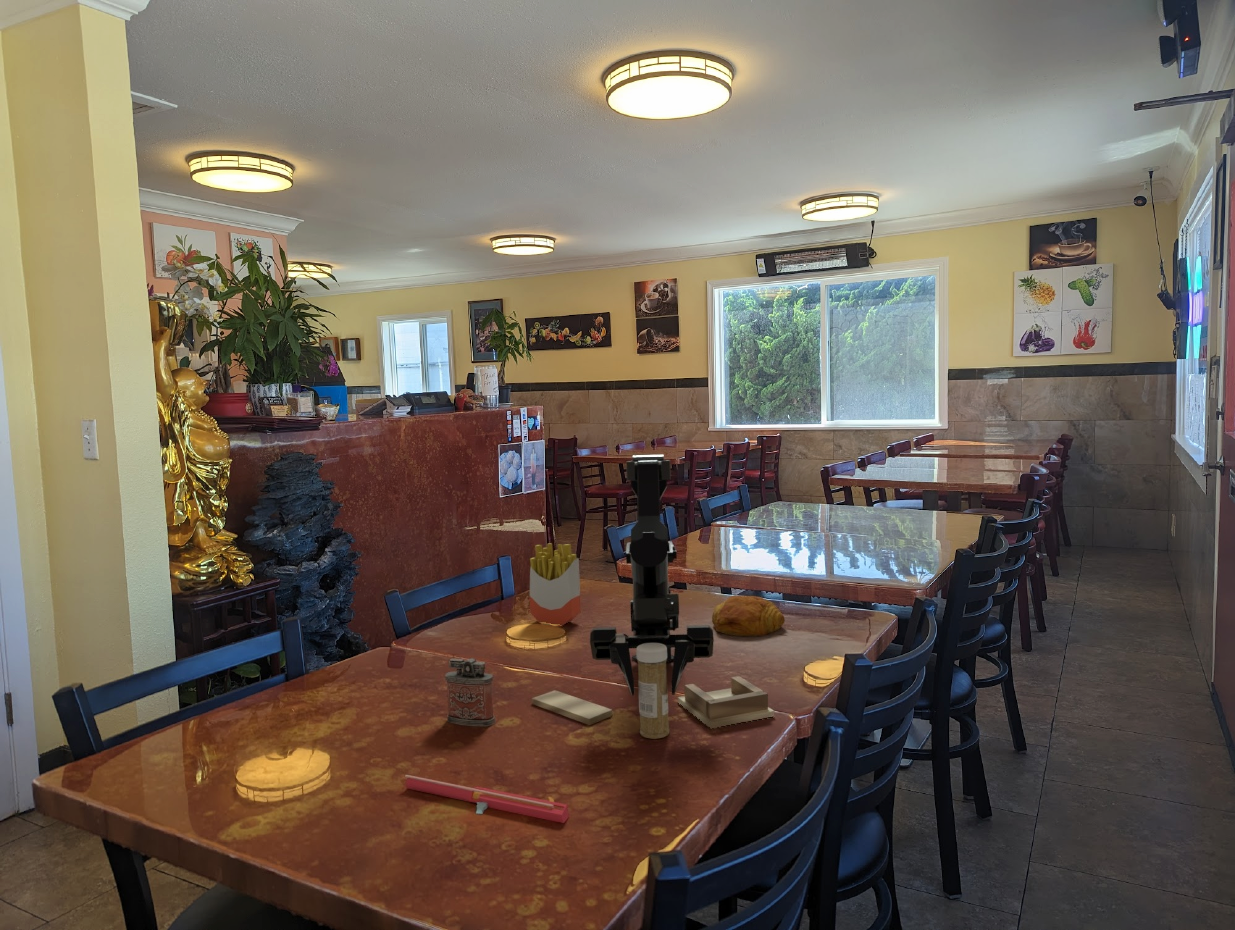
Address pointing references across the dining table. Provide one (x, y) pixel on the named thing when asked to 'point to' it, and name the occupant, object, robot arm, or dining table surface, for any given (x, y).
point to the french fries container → (554, 585)
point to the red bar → (492, 799)
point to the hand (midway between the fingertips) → (653, 694)
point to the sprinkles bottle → (652, 690)
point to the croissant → (747, 616)
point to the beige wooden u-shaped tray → (727, 703)
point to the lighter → (469, 693)
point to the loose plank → (572, 707)
